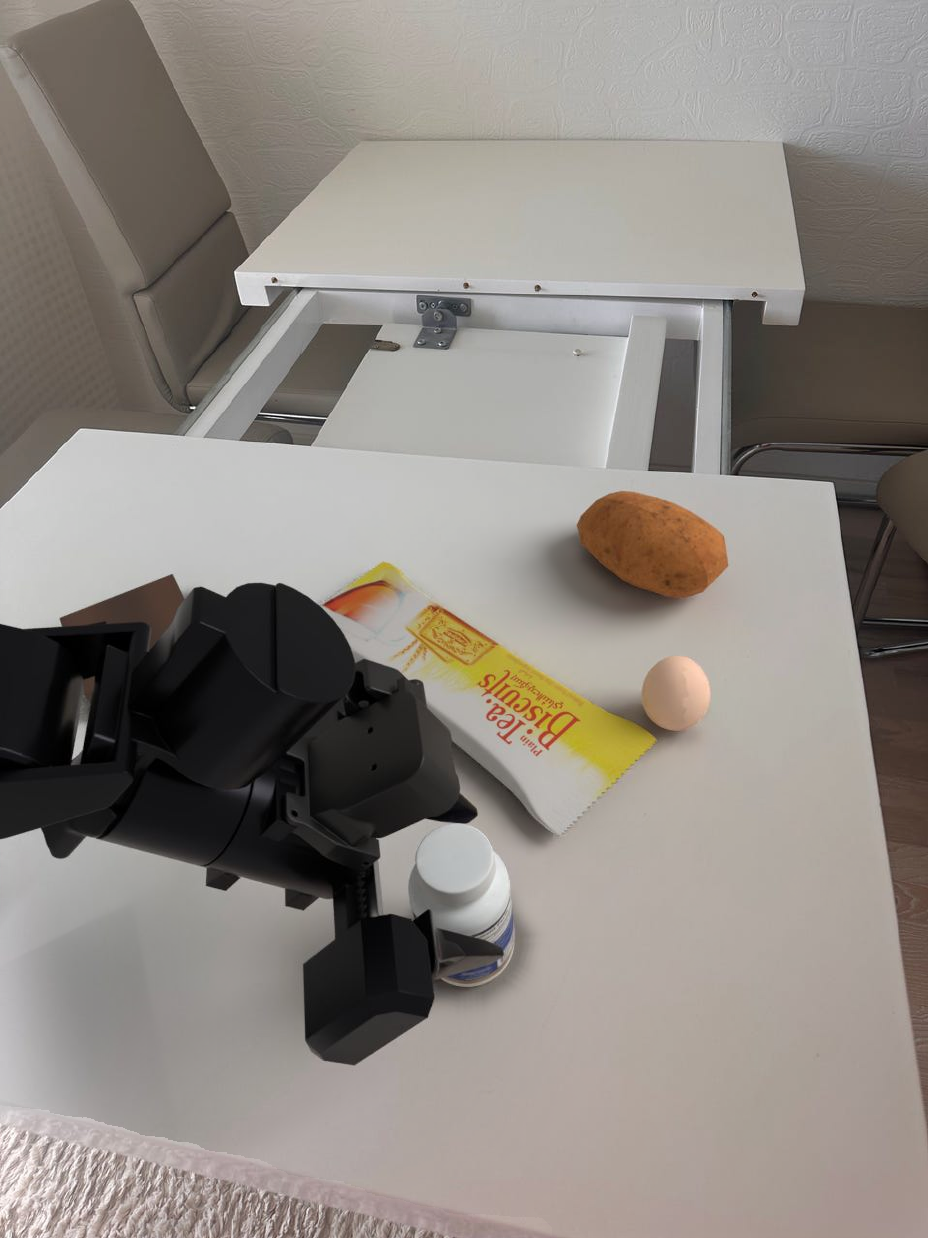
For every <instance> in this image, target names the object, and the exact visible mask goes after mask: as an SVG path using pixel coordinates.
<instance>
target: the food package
mask: <svg viewBox="0 0 928 1238" xmlns="http://www.w3.org/2000/svg"><path fill="white" fill-rule="evenodd" d="M318 605H319V604H318ZM319 606H321V607H322V608H323V609H324V610H325V611H326V612H327V613H328V614H329V615H330V617H331V618H332V619H333V620H334V621H335V622H336V624H337V625H338V626H339V628H340V629H341V631H342V632H343V633H344V635H345V637H346V639H347V641H348V643H349V645H350V647H351V650H352V653H353V657H354V660H355V663H356V662H358V661H360V660H362V659H367V660H370V661H373V662H376V663H379V664H383V665H386V666H389V667H392V668H395V669H397V670H398V671H400V672H401V673H402V674H403V675H404V676H405V677H406V678H407V679H408V680H412V679H417V680H420V681H422V682H423V684H424V690H425V696H426V702H427V708H428V709H429V710H430V711H431V712H432V713H433V714H434V715H435V716H436V717H437V718H438V719H439V720H440V721H441V722H442V723H443V724H444V725H446V726H447V727H448V729H449V730H450V733H451V737H452V743H454V744H455V745H456V746H458V747H459V748H460V749H462V751H464V752H465V753H466V754H467V755H469V757H471V758H472V759H473V760H475V762H477V763H478V764H480V765H481V766H482V767H483V768H484V769H485V770H486V771H488V773H490V774H491V775H492V776H493V777H495V778H496V779H497V780H498V781H499V782H500V783H502V784H503V785H504V786H505V787H506V788H507V789H508V790H510V792H512V793H513V794H514V796H515V797H516V798H517V799H518V800H519V801H520V802H521V804H522V805H523V806H524V808H525V810H526V811H527V812H528V813H529V814H530V815H531V816H532V818H533V819H535V820H536V821H537V822H538V823H539V825H541V826H542V827H544V828H545V829H546V830H548V831H549V832H551V833H552V834H553V835H557V836H560V837H563V834H566V832H568V831H569V829H571V826H574V823H576V822H578V821H579V820H578V818H581V817H582V818H583V813H587V812H588V808H593V804H594V803H597V802H598V799H599V798H603V794H605V793H608V789H611V788H613V787H612V785H613V784H617V780H619V779H622V775H625V774H626V773H627V770H631V766H635V765H636V761H639V760H641V759H640V757H643V756H645V753H648V750H651V748H653V746H654V745H656V743H658V740H657V739H656V737H655V736H654V735H653V734H652V733H650V732H649V731H648V730H646V729H645V728H643V727H641V726H640V725H638V724H636V723H635V722H634V721H631V720H629V719H626V718H624V717H622V716H618V715H616V714H614V713H611V712H610V711H607V710H605V709H603V708H601V707H600V706H597V705H596V704H594V703H593V702H592V701H589V700H587V699H586V698H584V697H583V696H581V695H579V694H577V693H576V692H574V691H573V690H571V689H570V688H568V687H567V686H565V685H563V684H562V683H560V682H558V681H557V680H555V679H553V678H552V677H550V676H549V675H547V674H546V673H544V672H542V671H541V670H540V669H537V668H536V667H534V666H533V665H531V664H530V663H528V662H526V661H525V660H523V659H522V658H520V657H519V656H517V655H515V653H513V652H512V651H510V650H508V649H507V648H506V647H504V646H502V644H499V643H497V642H496V641H495V640H493V639H491V638H490V637H489V636H487V635H485V634H484V633H483V632H481V631H480V630H478V629H476V628H475V627H474V626H472V625H470V624H469V623H467V622H466V621H464V620H462V619H461V618H460V617H458V616H457V615H456V614H454V613H453V612H451V611H450V610H449V609H447V608H446V607H444V606H443V605H441V604H440V603H438V602H437V601H435V600H434V599H433V598H431V597H430V596H428V594H426V593H425V592H423V591H422V590H420V589H419V588H418V587H417V586H415V585H414V584H413V583H412V582H411V581H410V580H409V579H408V578H407V577H406V575H405V574H404V573H403V571H401V569H399V568H398V567H396V566H395V565H393V564H392V563H390V562H387V561H383V560H382V561H381V562H379V564H378V563H377V564H376V565H375V566H374V567H372V569H369V570H368V572H365V573H364V574H363V575H361V576H359V578H358V579H354V582H353V581H352V582H350V584H349V585H346V586H345V588H342V589H341V590H340V591H338V592H336V594H334V595H332V596H331V597H330V598H328V599H327V600H326V601H323V602H322V604H320V605H319Z"/></svg>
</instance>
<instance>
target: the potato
mask: <svg viewBox="0 0 928 1238" xmlns="http://www.w3.org/2000/svg"><path fill="white" fill-rule="evenodd" d="M576 528H577V532H578V536H579V540H580V543H581V546H582V547H583V548H584V549H585V550H586V551H587V552H589V553H590V554H591V555H592V556H593V557H594V558H595V560H597V561H598V562H599V563H600V565H602V566H604V567H605V568H606V569H607V570H609V572H611V573H612V574H614V575H615V576H616V577H618V578H619V579H620V580H622V581H623V582H624V583H627V584H628V585H631V586H633V587H636V588H638V589H641V590H645V591H648V592H651V593H652V592H653V593H656V594H658V595H661V596H663V597H667V598H675V599H687V598H690V597H692V596H695V595H696V596H697V595H698V594H701V593H704V591H705V590H706V589H708V588H709V587H710V585H712V584H713V583H714V582H715V581H716V580H717V579H718V578H719V577H720V576H721V575H722V573H724V571H725V570H727V568H728V567H729V559H728V553H727V545H726V540H725V535H724V534H723V533H722V532H721V531H720V530H718V529H717V528H716V527H715V526H714V525H712V524H711V523H709V522H708V521H706V520H705V519H703V518H702V517H700V516H699V515H698V514H695V513H694V512H692V511H691V510H689V509H687V508H685V507H683V506H681V505H679V504H677V503H675V502H672V501H670V500H666V499H664V498H659V497H658V496H657V497H656V496H653V495H648V494H643V493H639V492H636V491H627V490H619V491H615V492H611V493H608V494H606V495H604V496H602V497H600V498H598V499H596V500H595V501H594V502H593V503H591V504H590V506H589V507H588V508H587V509H586V510H585V511H583V513H582V514H581V515H580V516H579V519H578V522H577V523H576Z"/></svg>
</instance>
